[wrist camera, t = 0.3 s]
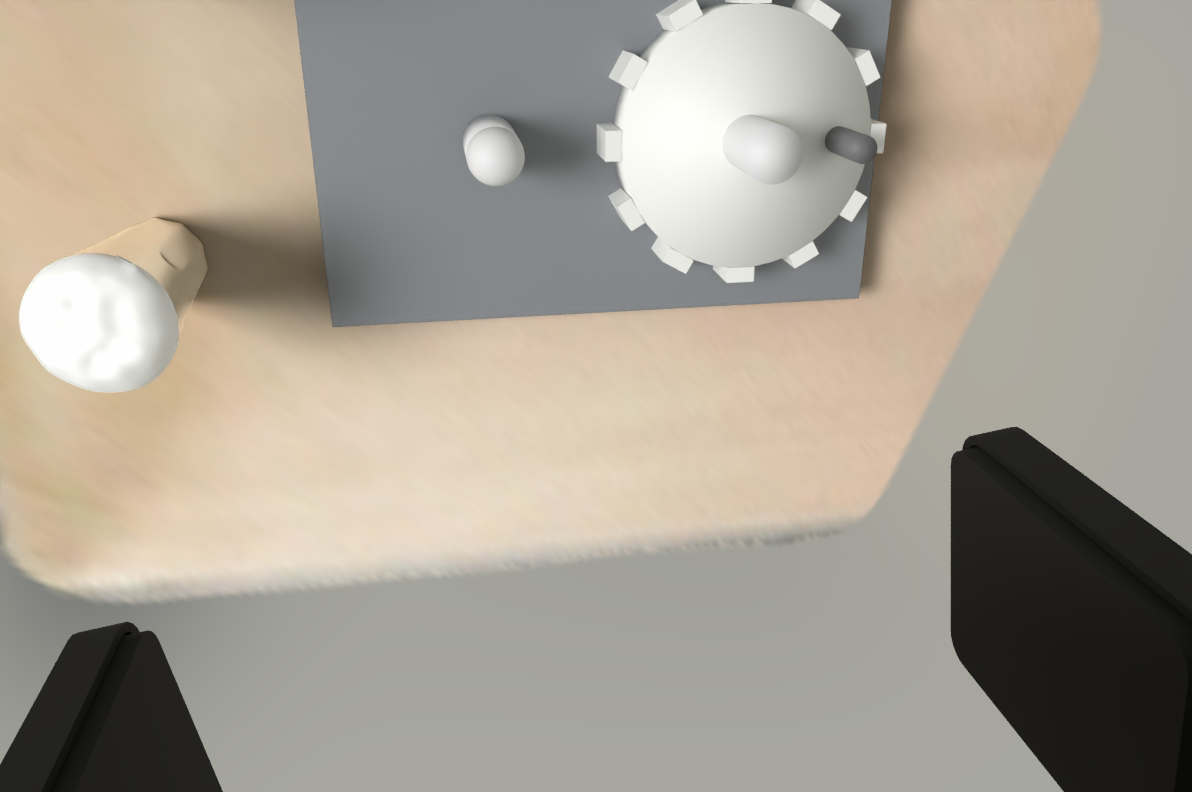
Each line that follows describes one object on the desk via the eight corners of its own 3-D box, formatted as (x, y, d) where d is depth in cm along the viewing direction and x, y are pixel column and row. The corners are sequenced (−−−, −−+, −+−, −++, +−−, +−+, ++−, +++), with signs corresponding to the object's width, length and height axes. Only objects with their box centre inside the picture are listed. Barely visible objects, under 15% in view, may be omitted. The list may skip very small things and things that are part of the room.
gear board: (292, -64, 34) (264, -74, 28) (881, -61, 37) (967, -70, 31) (335, 315, 39) (320, 373, 33) (845, 288, 43) (912, 337, 37)
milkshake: (255, 221, 37) (201, 297, 28) (194, 334, 39) (124, 441, 30) (140, 158, 36) (44, 218, 27) (81, 278, 37) (-30, 373, 28)
